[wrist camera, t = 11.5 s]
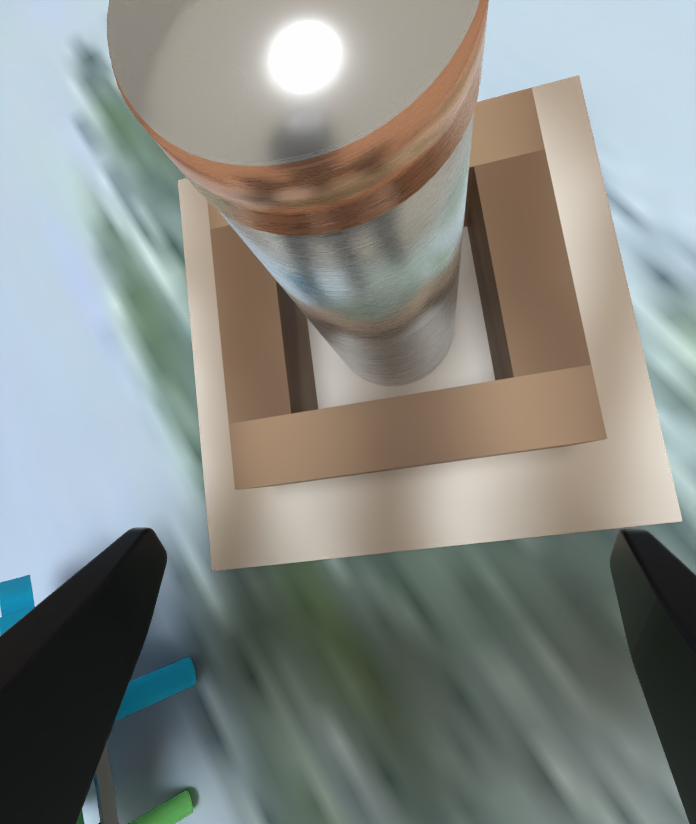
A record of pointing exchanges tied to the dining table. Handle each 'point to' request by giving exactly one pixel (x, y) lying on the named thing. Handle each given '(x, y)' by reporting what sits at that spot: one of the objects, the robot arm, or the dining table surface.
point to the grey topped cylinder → (324, 150)
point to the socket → (438, 376)
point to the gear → (138, 696)
